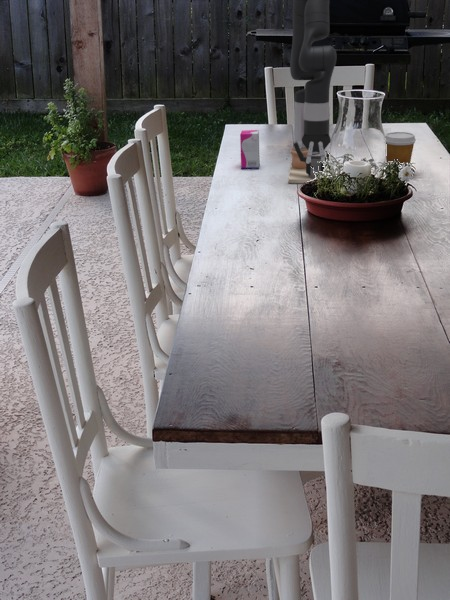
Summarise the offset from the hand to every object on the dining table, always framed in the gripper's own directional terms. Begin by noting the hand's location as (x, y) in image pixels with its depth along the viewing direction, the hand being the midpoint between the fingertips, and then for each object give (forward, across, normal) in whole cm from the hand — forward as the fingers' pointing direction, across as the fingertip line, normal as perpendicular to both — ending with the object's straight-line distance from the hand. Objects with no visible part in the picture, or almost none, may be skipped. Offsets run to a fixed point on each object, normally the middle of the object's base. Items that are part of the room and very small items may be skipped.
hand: (315, 174), depth 239 cm
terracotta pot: (+1, +5, -12) cm, 13 cm away
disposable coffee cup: (+2, -25, -8) cm, 26 cm away
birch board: (+2, +3, -9) cm, 10 cm away
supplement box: (+2, +21, -16) cm, 27 cm away
